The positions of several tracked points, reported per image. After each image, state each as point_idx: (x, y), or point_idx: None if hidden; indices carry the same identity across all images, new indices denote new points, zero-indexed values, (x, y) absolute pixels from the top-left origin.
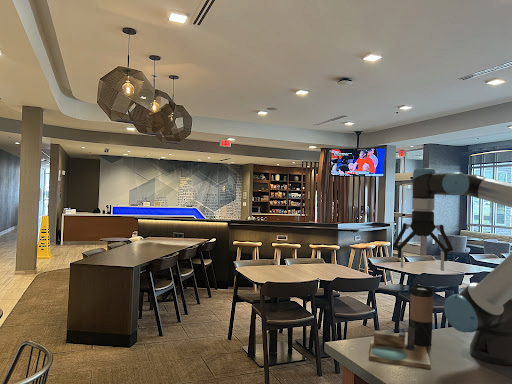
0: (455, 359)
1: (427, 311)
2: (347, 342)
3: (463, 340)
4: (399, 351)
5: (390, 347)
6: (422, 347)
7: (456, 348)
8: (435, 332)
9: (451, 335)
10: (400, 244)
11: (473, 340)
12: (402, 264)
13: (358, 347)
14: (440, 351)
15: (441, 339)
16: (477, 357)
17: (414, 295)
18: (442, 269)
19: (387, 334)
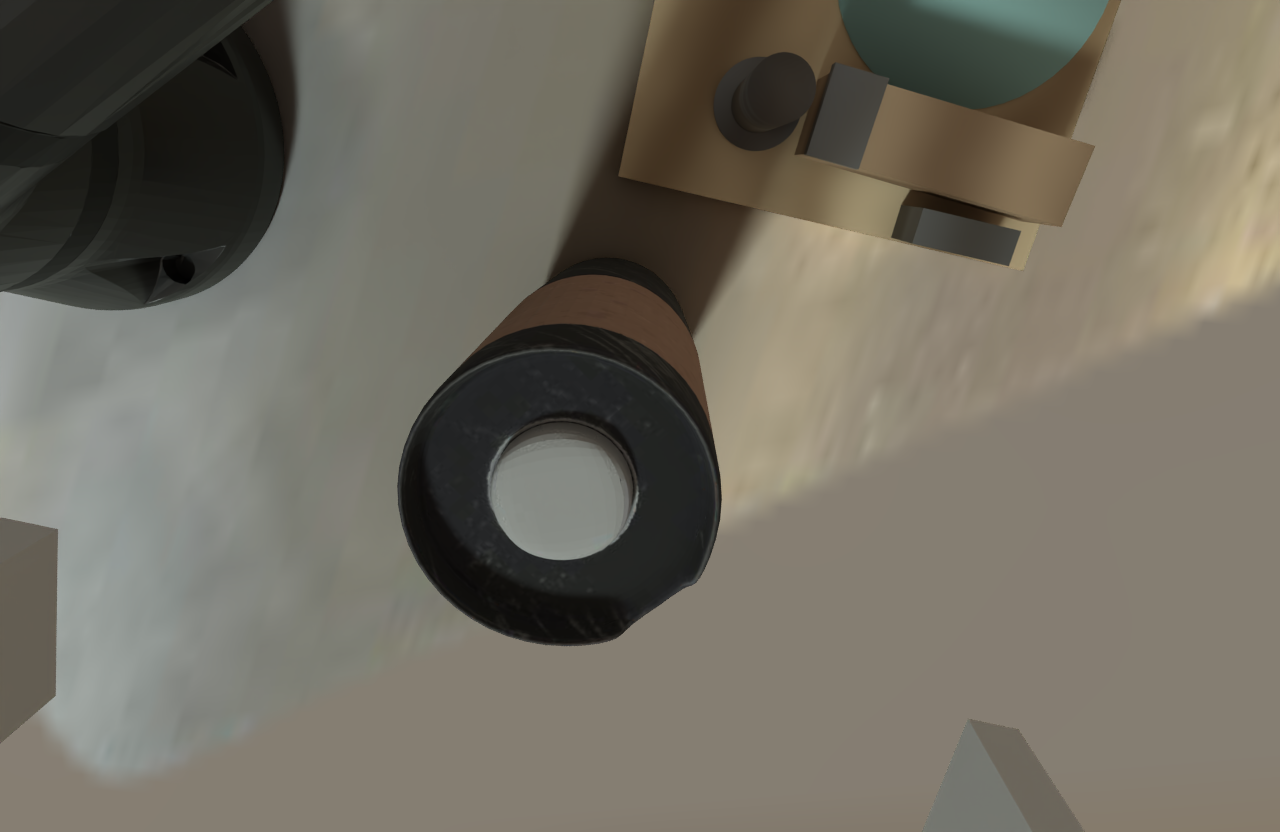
0: (441, 11)
1: (551, 295)
2: (1206, 254)
3: (255, 451)
4: (878, 12)
5: None
6: (648, 157)
7: (360, 264)
8: (419, 593)
9: (315, 547)
10: None
11: (212, 152)
12: (1023, 782)
13: (1152, 151)
14: (506, 174)
15: None
16: (259, 60)
17: (692, 392)
18: (6, 541)
19: (978, 123)
